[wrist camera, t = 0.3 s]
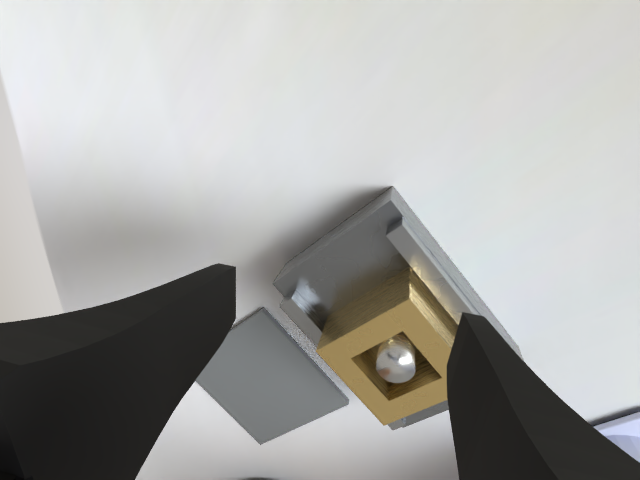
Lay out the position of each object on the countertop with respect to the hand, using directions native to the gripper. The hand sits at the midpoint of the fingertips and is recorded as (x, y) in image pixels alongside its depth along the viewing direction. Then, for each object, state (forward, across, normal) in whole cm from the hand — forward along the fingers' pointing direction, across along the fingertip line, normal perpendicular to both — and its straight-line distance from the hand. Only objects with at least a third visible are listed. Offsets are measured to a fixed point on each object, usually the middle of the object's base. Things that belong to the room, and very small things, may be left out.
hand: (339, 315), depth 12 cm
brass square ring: (+7, -2, +5) cm, 9 cm away
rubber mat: (+10, +6, +14) cm, 18 cm away
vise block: (+10, -2, +5) cm, 11 cm away
